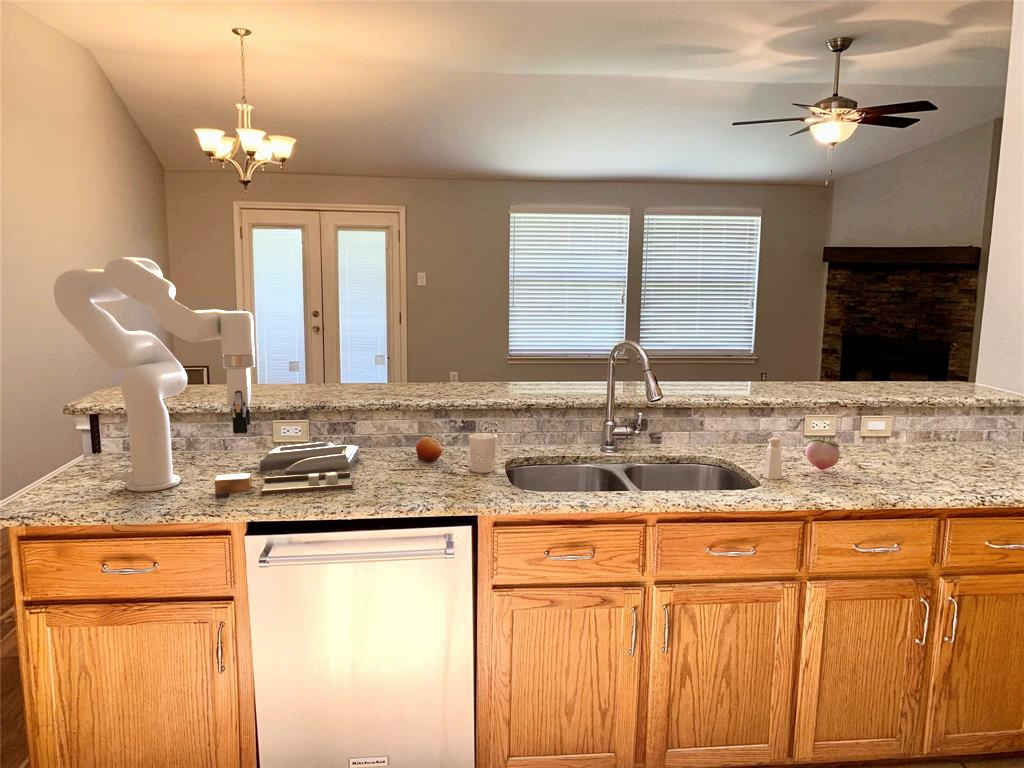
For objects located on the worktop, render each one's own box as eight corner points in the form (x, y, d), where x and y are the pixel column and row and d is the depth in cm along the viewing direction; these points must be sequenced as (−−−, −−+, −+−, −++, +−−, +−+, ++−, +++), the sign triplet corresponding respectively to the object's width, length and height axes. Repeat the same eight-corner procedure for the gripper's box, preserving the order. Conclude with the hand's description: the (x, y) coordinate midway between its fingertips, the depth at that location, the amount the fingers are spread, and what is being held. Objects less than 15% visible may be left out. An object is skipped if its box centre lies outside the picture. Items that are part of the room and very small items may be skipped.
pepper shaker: (758, 476, 197) (761, 438, 195) (767, 473, 201) (769, 435, 199) (777, 480, 193) (780, 442, 192) (785, 477, 197) (788, 438, 196)
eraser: (215, 497, 173) (214, 480, 173) (217, 492, 178) (217, 475, 177) (249, 495, 175) (249, 478, 175) (251, 490, 180) (250, 473, 179)
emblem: (308, 466, 183) (238, 451, 197) (309, 486, 184) (239, 470, 198) (380, 445, 207) (313, 433, 221) (381, 462, 207) (314, 450, 221)
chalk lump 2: (328, 484, 181) (328, 475, 181) (325, 482, 183) (325, 473, 183) (337, 483, 182) (337, 474, 182) (335, 481, 184) (334, 471, 184)
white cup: (478, 475, 196) (478, 440, 194) (463, 468, 202) (463, 435, 200) (501, 470, 200) (501, 436, 199) (486, 464, 206) (486, 431, 205)
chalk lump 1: (308, 485, 180) (308, 476, 180) (308, 483, 182) (308, 473, 182) (318, 485, 181) (318, 475, 180) (318, 482, 183) (318, 473, 183)
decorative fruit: (842, 469, 206) (844, 436, 204) (835, 475, 199) (838, 441, 198) (808, 464, 211) (811, 431, 210) (801, 469, 205) (803, 436, 203)
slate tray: (261, 499, 173) (261, 490, 172) (264, 485, 184) (264, 477, 184) (352, 492, 179) (352, 484, 178) (350, 479, 190) (350, 471, 190)
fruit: (412, 451, 215) (425, 430, 213) (434, 465, 215) (447, 443, 214) (407, 458, 207) (421, 436, 206) (430, 472, 207) (444, 450, 206)
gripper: (226, 357, 180) (229, 422, 183) (218, 366, 164) (222, 437, 167) (256, 357, 183) (259, 421, 185) (252, 365, 166) (255, 435, 169)
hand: (242, 428), depth 176 cm, fingers open, 9 cm apart
